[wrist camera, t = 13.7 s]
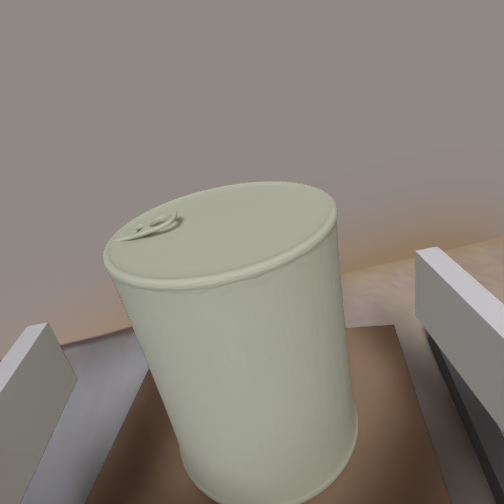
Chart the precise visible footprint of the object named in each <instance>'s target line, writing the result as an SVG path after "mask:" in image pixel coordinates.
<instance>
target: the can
mask: <svg viewBox="0 0 504 504" xmlns="http://www.w3.org/2000/svg"><path fill="white" fill-rule="evenodd" d="M337 216H338V212H337V206H336V203H335V201H334V200H333V199H332V198H331V197H330V195H328V194H327V193H326V192H324V191H322V190H320V189H318V188H315V187H312V186H309V185H305V184H300V183H294V182H280V181H279V182H278V181H276V182H275V181H266V182H251V183H242V184H234V185H228V186H223V187H217V188H213V189H209V190H205V191H200V192H197V193H193V194H190V195H187V196H184V197H181V198H178V199H175V200H172V201H169V202H167V203H165V204H162V205H160V206H158V207H155V208H153V209H151V210H149V211H147V212H145V213H143V214H142V215H140V216H138V217H137V218H135V219H133V220H131V221H130V222H129V223H127V224H126V225H124V226H123V227H122V228H120V229H119V230H118V231H117V232H116V233H115V234H114V236H112V237H111V239H110V240H109V241H108V243H107V245H106V246H105V249H104V253H103V263H104V266H105V268H106V270H107V271H108V273H109V274H110V276H111V278H112V280H113V282H114V284H115V287H116V289H117V291H118V293H119V296H120V298H121V300H122V303H123V305H124V308H125V310H126V313H127V315H128V317H129V320H130V322H131V325H132V327H133V329H134V332H135V334H136V336H137V339H138V341H139V344H140V346H141V348H142V351H143V353H144V356H145V358H146V361H147V363H148V366H149V368H150V371H151V373H152V376H153V378H154V381H155V383H156V386H157V388H158V391H159V393H160V396H161V398H162V401H163V403H164V406H165V408H166V411H167V413H168V416H169V419H170V421H171V424H172V426H173V429H174V432H175V434H176V437H177V440H178V443H179V447H180V454H181V459H182V462H183V464H184V467H185V469H186V471H187V473H188V475H189V477H190V478H191V480H192V481H193V483H194V484H195V485H196V486H197V487H198V488H199V489H200V490H201V491H202V492H203V493H204V494H205V495H207V496H208V497H209V498H211V499H212V500H214V501H216V502H218V503H220V504H302V503H304V502H306V501H308V500H310V499H312V498H314V497H315V496H317V495H318V494H320V493H321V492H322V491H324V490H325V489H327V488H328V487H329V486H330V485H331V484H332V483H333V482H334V481H335V480H336V479H337V478H338V477H339V475H340V474H341V473H342V472H343V470H344V468H345V467H346V465H347V464H348V462H349V460H350V458H351V456H352V454H353V451H354V448H355V445H356V441H357V436H358V415H357V410H356V406H355V403H354V400H353V396H352V389H351V380H350V371H349V361H348V352H347V342H346V331H345V320H344V309H343V298H342V287H341V275H340V263H339V250H338V236H337Z"/></svg>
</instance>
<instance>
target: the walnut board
mask: <svg viewBox="0 0 504 504" xmlns="http://www.w3.org/2000/svg"><path fill="white" fill-rule="evenodd" d="M345 331H346V342H347V352H348V361H349V371H350V380H351V389H352V396H353V400H354V403H355V406H356V410H357V415H358V436H357V441H356V445H355V448H354V451H353V454H352V456H351V458H350V460H349V462H348V464H347V465H346V467H345V468H344V470H343V472H342V473H341V474H340V475H339V477H338V478H337V479H336V480H335V481H334V482H333V483H332V484H331V485H330V486H329V487H328V488H327V489H325V490H324V491H322V492H321V493H320V494H318V495H317V496H315V497H314V498H312V499H310V500H308V501H306V502H304V503H302V504H451V502H450V498H449V495H448V492H447V489H446V486H445V483H444V480H443V477H442V474H441V470H440V467H439V464H438V461H437V458H436V455H435V452H434V449H433V446H432V442H431V439H430V436H429V433H428V430H427V427H426V424H425V421H424V418H423V414H422V411H421V408H420V405H419V402H418V399H417V396H416V393H415V389H414V386H413V383H412V380H411V377H410V374H409V371H408V368H407V365H406V361H405V358H404V355H403V352H402V349H401V346H400V343H399V340H398V337H397V333H396V330H395V327H394V325H385V326H371V327H357V328H345ZM85 504H220V503H218V502H216V501H214V500H212V499H211V498H209V497H208V496H207V495H205V494H204V493H203V492H202V491H201V490H200V489H199V488H198V487H197V486H196V485H195V484H194V483H193V481H192V480H191V478H190V477H189V475H188V473H187V471H186V469H185V467H184V464H183V462H182V459H181V454H180V447H179V443H178V440H177V437H176V434H175V432H174V429H173V426H172V424H171V421H170V419H169V416H168V413H167V411H166V408H165V406H164V403H163V401H162V398H161V396H160V393H159V391H158V388H157V386H156V383H155V381H154V378H153V376H152V373H151V371H150V368H149V370H148V372H147V374H146V376H145V379H144V381H143V383H142V385H141V387H140V389H139V391H138V393H137V395H136V398H135V400H134V402H133V404H132V406H131V408H130V410H129V412H128V414H127V416H126V419H125V421H124V423H123V425H122V427H121V429H120V431H119V433H118V435H117V437H116V440H115V442H114V444H113V446H112V448H111V450H110V452H109V454H108V456H107V459H106V461H105V463H104V465H103V467H102V469H101V471H100V473H99V475H98V477H97V480H96V482H95V484H94V486H93V488H92V490H91V492H90V494H89V496H88V499H87V501H86V503H85Z"/></svg>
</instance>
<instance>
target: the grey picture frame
mask: <svg viewBox="0 0 504 504" xmlns="http://www.w3.org/2000/svg"><path fill="white" fill-rule="evenodd" d="M429 342H430V345H431V347H432V349H433V352H434V354H435V357H436V359H437V361H438V364H439V366H440V368H441V371H442V373H443V376H444V378H445V380H446V383H447V385H448V387H449V390H450V392H451V395H452V397H453V399H454V402H455V404H456V406H457V409H458V411H459V413H460V416H461V418H462V421H463V423H464V425H465V428H466V430H467V432H468V435H469V437H470V440H471V442H472V444H473V447H474V449H475V451H476V454H477V456H478V458H479V461H480V463H481V466H482V468H483V470H484V473H485V475H486V477H487V480H488V482H489V485H490V487H491V489H492V492H493V494H494V496H495V499H496V501H497V503H498V504H504V437H503V435H502V433H501V431H500V429H499V427H498V425H497V423H496V422H495V421H494V419H493V418H492V417H491V415H490V414H489V413H488V411H487V410H486V409H485V407H484V406H483V405H482V403H481V402H480V401H479V399H478V398H477V397H476V395H475V394H474V393H473V391H472V390H471V389H470V387H469V386H468V385H467V383H466V382H465V381H464V379H463V378H462V377H461V375H460V374H459V373H458V371H457V370H456V369H455V367H454V366H453V365H452V363H451V362H450V361H449V359H448V358H447V357H446V355H445V354H444V353H443V351H442V350H441V349H440V347H439V346H438V345H437V343H436V342H435V341H434V339H433V338H432V337H431V335H430V334H429Z"/></svg>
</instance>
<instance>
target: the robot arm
mask: <svg viewBox="0 0 504 504" xmlns="http://www.w3.org/2000/svg"><path fill="white" fill-rule="evenodd" d="M415 253H416V254H415V315H416V317H417V318H418V319H419V321H420V322H421V323H422V325H423V326H424V327H425V329H426V330H427V331H428V333H429V334H430V335H431V337H432V338H433V339H434V341H435V342H436V343H437V345H438V346H439V347H440V349H441V350H442V351H443V353H444V354H445V355H446V357H447V358H448V359H449V361H450V362H451V363H452V365H453V366H454V367H455V369H456V370H457V371H458V373H459V374H460V375H461V377H462V378H463V379H464V381H465V382H466V383H467V385H468V386H469V387H470V389H471V390H472V391H473V393H474V394H475V395H476V397H477V398H478V399H479V401H480V402H481V403H482V405H483V406H484V407H485V409H486V410H487V411H488V413H489V414H490V415H491V417H492V418H493V419H494V421H495V422H496V423H497V425H498V426H499V427H500V429H501V430H502V431H503V433H504V304H503V303H502V302H500V301H499V300H498V299H497V298H496V297H495V296H493V295H492V294H491V293H490V292H489V291H488V290H487V289H485V288H484V287H483V286H482V285H481V284H480V283H479V282H477V281H476V280H475V279H474V278H473V277H472V276H471V275H469V274H468V273H467V272H466V271H465V270H464V269H462V268H461V267H460V266H459V265H458V264H457V263H456V262H454V261H453V260H452V259H451V258H450V257H449V256H448V255H446V254H445V253H444V252H443V251H442V250H441V249H439V248H438V247H433V248H428V249H423V250H417V251H415ZM76 381H77V377H76V375H75V373H74V372H73V370H72V368H71V366H70V364H69V362H68V360H67V358H66V356H65V354H64V352H63V350H62V348H61V346H60V344H59V342H58V340H57V339H56V337H55V335H54V333H53V331H52V329H51V327H50V325H49V323H48V322H46V323H40V324H35V325H30V326H27V327H26V328H25V329H24V331H23V332H22V333H21V335H20V336H19V338H18V339H17V340H16V342H15V343H14V344H13V346H12V347H11V348H10V350H9V351H8V352H7V354H6V355H5V356H4V358H3V359H2V360H1V362H0V504H20V503H21V501H22V499H23V496H24V494H25V492H26V490H27V488H28V486H29V483H30V481H31V479H32V477H33V475H34V473H35V470H36V468H37V466H38V464H39V462H40V460H41V457H42V455H43V453H44V451H45V449H46V446H47V444H48V442H49V440H50V438H51V436H52V433H53V431H54V429H55V427H56V425H57V423H58V420H59V418H60V416H61V414H62V412H63V410H64V407H65V405H66V403H67V401H68V399H69V397H70V394H71V392H72V390H73V388H74V386H75V384H76Z"/></svg>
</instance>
